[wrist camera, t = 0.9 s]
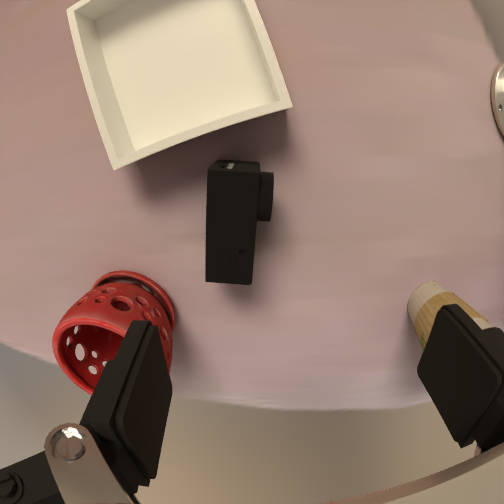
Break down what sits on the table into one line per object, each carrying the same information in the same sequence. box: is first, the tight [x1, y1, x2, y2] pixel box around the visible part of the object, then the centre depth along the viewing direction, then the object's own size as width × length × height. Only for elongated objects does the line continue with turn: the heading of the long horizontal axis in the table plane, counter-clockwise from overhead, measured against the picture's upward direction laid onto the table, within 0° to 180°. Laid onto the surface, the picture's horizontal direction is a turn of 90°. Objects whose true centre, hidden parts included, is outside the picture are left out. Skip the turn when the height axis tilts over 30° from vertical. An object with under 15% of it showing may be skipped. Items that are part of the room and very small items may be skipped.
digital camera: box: [206, 160, 274, 285], centre depth 30 cm, size 10×5×7 cm, turn 176°
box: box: [67, 0, 293, 170], centre depth 23 cm, size 17×19×6 cm
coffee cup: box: [407, 282, 504, 353], centre depth 30 cm, size 10×10×15 cm
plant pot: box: [52, 271, 175, 395], centre depth 33 cm, size 13×13×12 cm
